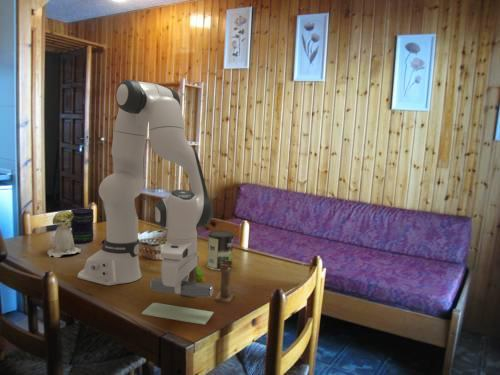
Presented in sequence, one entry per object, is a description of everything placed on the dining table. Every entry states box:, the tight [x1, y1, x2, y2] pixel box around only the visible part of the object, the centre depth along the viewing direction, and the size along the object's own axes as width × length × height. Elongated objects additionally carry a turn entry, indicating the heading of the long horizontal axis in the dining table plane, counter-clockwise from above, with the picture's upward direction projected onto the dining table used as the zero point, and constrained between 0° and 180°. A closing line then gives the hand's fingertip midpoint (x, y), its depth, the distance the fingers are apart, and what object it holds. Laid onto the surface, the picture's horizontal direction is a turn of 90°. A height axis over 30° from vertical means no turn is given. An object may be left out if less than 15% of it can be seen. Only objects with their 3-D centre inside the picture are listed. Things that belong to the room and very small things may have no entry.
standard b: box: [214, 259, 235, 304], centre depth 136 cm, size 5×6×12 cm
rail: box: [149, 277, 215, 299], centre depth 123 cm, size 19×3×3 cm, turn 78°
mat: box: [141, 302, 214, 325], centre depth 123 cm, size 20×8×1 cm, turn 77°
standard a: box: [180, 255, 199, 298], centre depth 139 cm, size 5×6×12 cm
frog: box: [47, 210, 82, 258], centre depth 172 cm, size 12×13×18 cm
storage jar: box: [70, 207, 94, 245], centre depth 191 cm, size 10×10×15 cm
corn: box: [196, 266, 206, 283], centre depth 149 cm, size 7×8×20 cm
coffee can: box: [206, 229, 235, 271], centre depth 167 cm, size 10×10×14 cm
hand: (181, 290), depth 123 cm, fingers closed on rail, 3 cm apart
